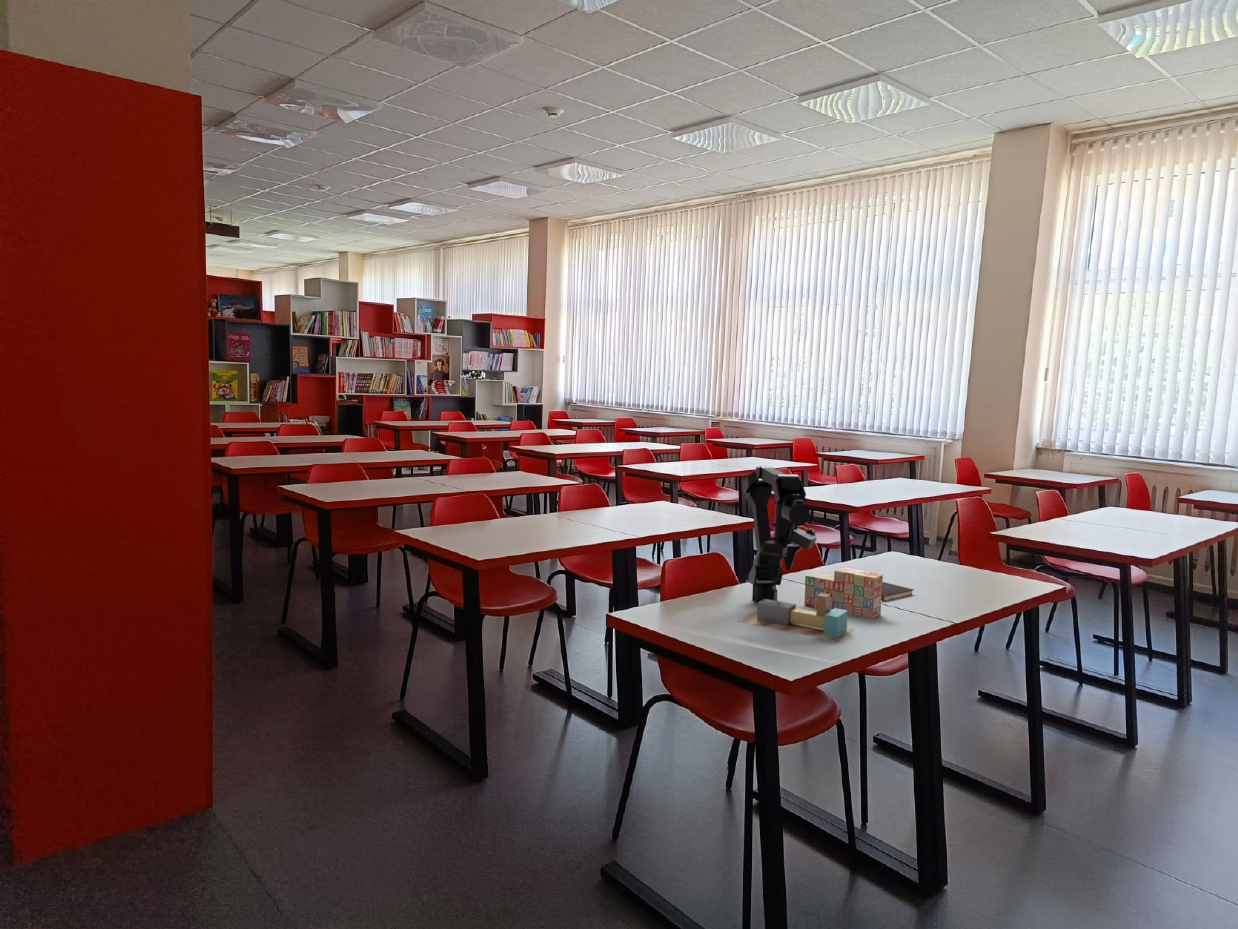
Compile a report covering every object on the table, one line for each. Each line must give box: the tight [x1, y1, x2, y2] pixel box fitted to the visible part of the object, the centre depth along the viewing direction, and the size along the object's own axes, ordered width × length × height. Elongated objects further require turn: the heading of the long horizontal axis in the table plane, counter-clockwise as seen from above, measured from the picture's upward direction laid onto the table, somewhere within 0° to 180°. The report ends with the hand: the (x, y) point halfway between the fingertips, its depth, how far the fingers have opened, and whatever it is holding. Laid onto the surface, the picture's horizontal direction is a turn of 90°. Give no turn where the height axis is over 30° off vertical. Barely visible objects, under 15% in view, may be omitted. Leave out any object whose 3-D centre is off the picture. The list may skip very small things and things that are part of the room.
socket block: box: [823, 608, 848, 638], centre depth 197 cm, size 4×8×5 cm, turn 145°
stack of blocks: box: [803, 567, 884, 620], centre depth 223 cm, size 21×6×12 cm, turn 50°
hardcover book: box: [881, 581, 915, 602], centre depth 248 cm, size 16×23×2 cm
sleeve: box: [756, 599, 797, 626], centre depth 207 cm, size 9×5×5 cm, turn 55°
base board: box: [737, 610, 855, 642], centre depth 204 cm, size 28×13×1 cm, turn 55°
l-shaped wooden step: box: [789, 593, 830, 629], centre depth 202 cm, size 17×3×9 cm, turn 55°
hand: (782, 573), depth 213 cm, fingers open, 9 cm apart
